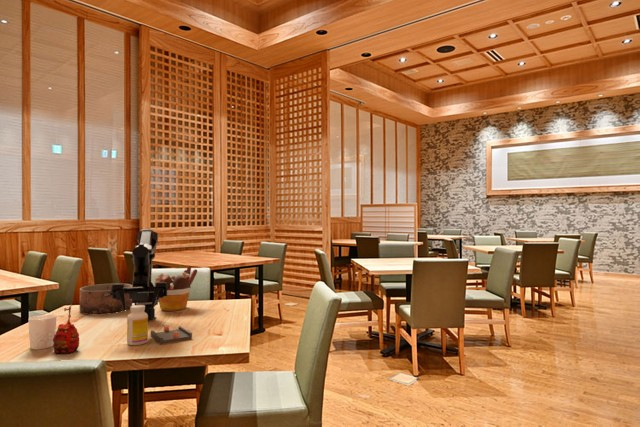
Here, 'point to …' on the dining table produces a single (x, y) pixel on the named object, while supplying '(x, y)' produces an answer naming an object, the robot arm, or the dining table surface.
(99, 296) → the cooking pot
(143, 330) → the supplement bottle
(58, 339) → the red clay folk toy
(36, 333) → the white cup
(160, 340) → the tray
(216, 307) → the dining table surface
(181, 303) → the bucket of meat
